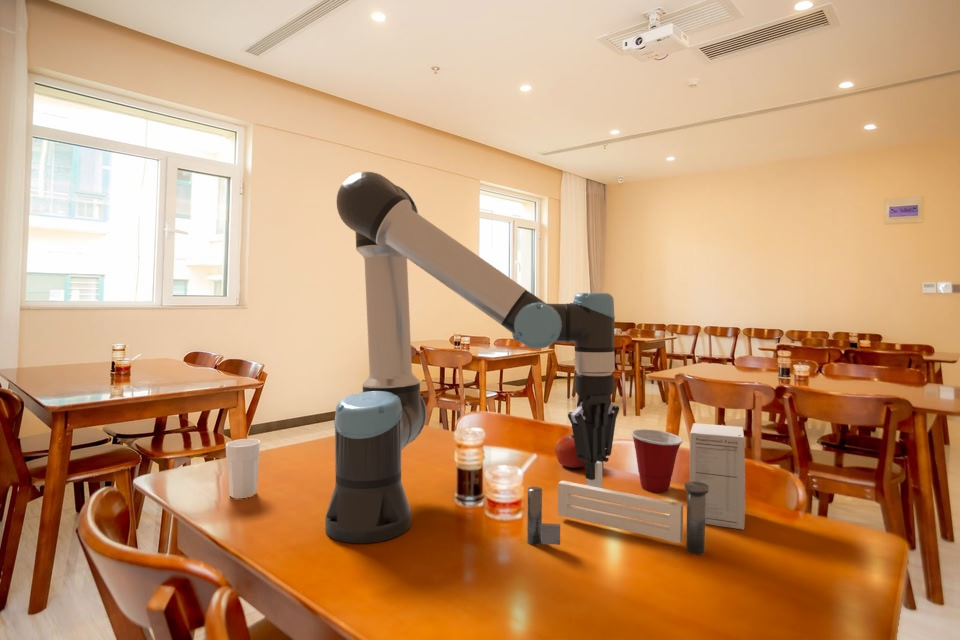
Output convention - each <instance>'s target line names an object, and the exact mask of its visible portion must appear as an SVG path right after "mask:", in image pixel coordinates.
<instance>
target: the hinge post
mask: <svg viewBox="0 0 960 640" xmlns="http://www.w3.org/2000/svg"><path fill="white" fill-rule="evenodd" d="M708 488H709V486H708V485H706V484H704V483H701V482H690V481H686V482H684V490H685V491H686V492H687V493H686V535H685V536H686V542H685V543H686V545H685V546H686V547H685V550H686V551H687V552H688V553H691V554H693V555H697V556H698V555H704V554H705V553H706V524H705V507H706V493H708Z"/></svg>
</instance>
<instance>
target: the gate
mask: <svg viewBox="0 0 960 640" xmlns="http://www.w3.org/2000/svg"><path fill="white" fill-rule="evenodd" d="M557 515H558V516H561V517H565V518H571V519H575V520H579V521H584V522H588V523H592V524H597V525H601V526H605V527H608V528H609V527H610V528H614V529H617V530H618V529H619V530H623V531H627V532H630V533H631V532H632V533H636V534H641V535H643V536H648V537H653V538H658V539H661V540H665V541H669V542H672V543H678V544H681V543H682V542H683V539H684V538H683V537H684V532H683V531H684V529H683V528H684V527H683V526H684V503H681V502H676V501H669V500H665V499H658V498H654V497H649V496H645V495H639V494H633V493H628V492H623V491H619V490H614V489H613V490H612V489H607V488H603V487H602V488H598V487H593V486H588V485H586V484H582V483H575V482H572V481H568V480H567V481H566V480H560V481H559V482H558V483H557Z"/></svg>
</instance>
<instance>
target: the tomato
mask: <svg viewBox="0 0 960 640" xmlns="http://www.w3.org/2000/svg"><path fill="white" fill-rule="evenodd" d="M554 452H555V454H556V459H557V461H558V463H559V464H560V465H562V466H563V467H567V468H572V469H574V468H585V461H583V460H579V459H577V454H576V448H575V442H574V436H573V434H565V435H564V436H562V437H560V438H559V439H558V440H557V441H556V444H555V446H554Z"/></svg>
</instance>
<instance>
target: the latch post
mask: <svg viewBox="0 0 960 640" xmlns="http://www.w3.org/2000/svg"><path fill="white" fill-rule="evenodd" d="M542 513H543V489H542V488H541V487H539V486H530V487H527V513H526V515H527V517H526V518H527V522H526V523H527V527H526V529H527V530H526V531H527V533H526V534H527V537H526V539H527V540H526V541H527V544H529V545H532V546H539V545H541V544H542V545H557V546H560V545H561V523H549V522H548V523H547V522H546V523H545V522H543V521H542V520H543V514H542Z"/></svg>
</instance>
